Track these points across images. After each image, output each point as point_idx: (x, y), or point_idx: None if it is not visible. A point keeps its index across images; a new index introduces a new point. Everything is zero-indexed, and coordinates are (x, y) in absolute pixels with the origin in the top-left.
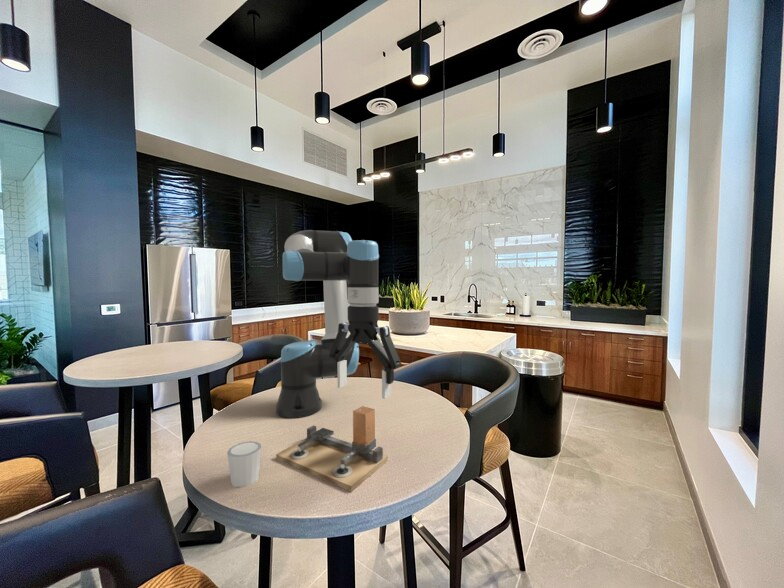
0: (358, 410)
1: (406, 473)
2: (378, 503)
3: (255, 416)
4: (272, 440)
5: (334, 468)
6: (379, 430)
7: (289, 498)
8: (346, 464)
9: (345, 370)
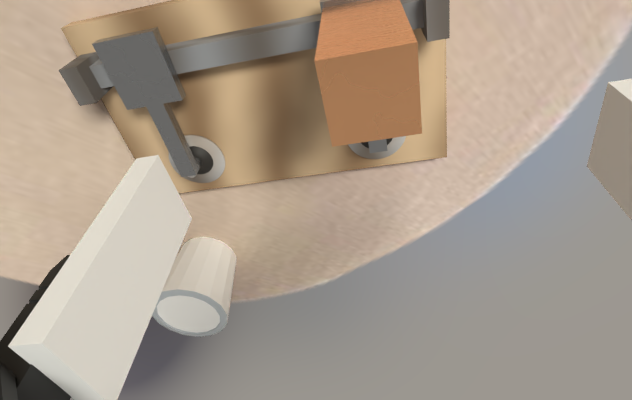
0: (348, 121)
1: None
2: (536, 133)
3: None
4: (32, 147)
5: None
6: None
7: (341, 235)
8: None
9: (113, 261)
